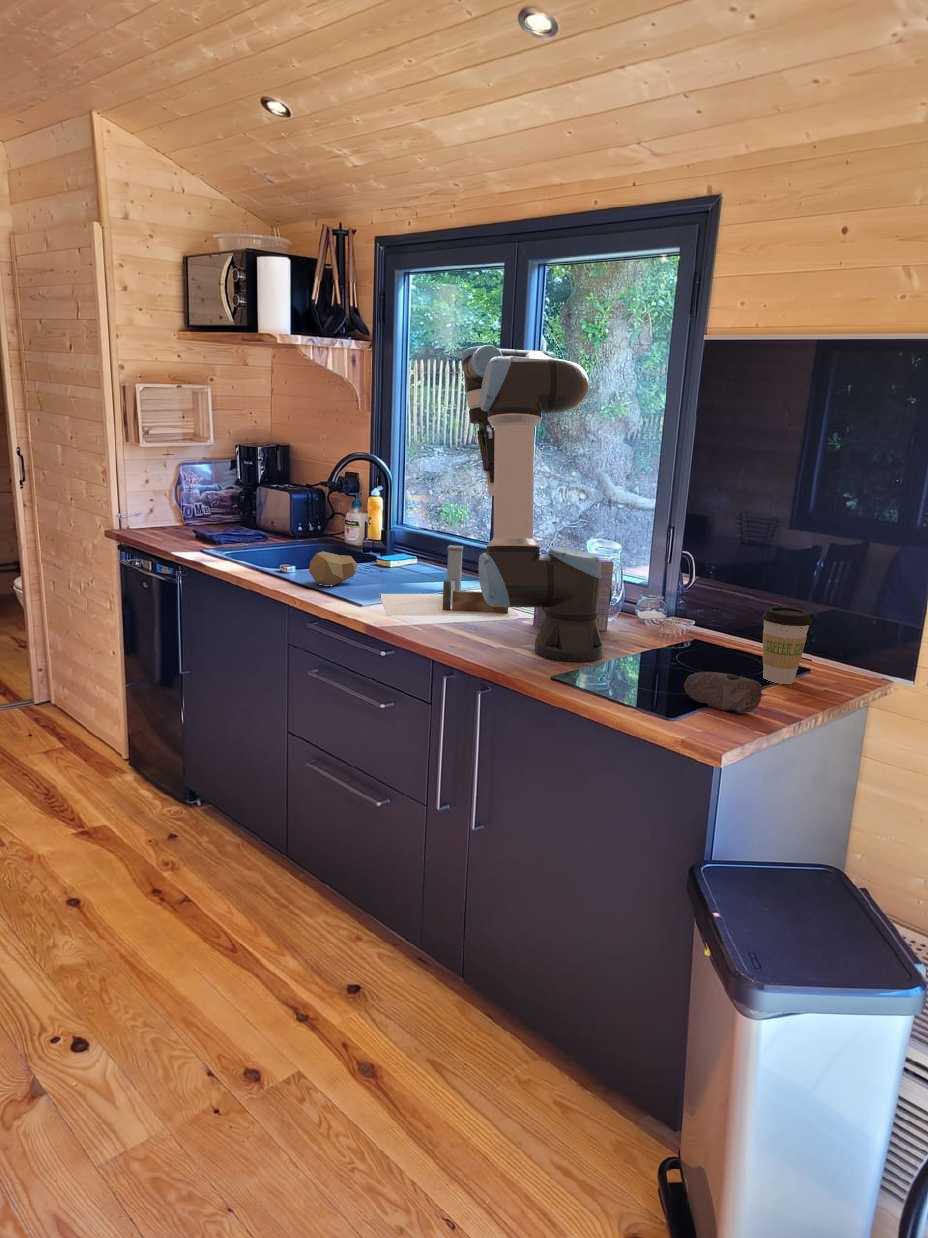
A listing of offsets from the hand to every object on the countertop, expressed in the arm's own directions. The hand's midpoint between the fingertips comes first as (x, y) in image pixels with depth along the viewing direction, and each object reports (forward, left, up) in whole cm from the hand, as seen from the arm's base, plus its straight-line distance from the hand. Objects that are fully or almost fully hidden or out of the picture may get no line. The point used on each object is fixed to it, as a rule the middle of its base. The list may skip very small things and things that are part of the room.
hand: (494, 495), depth 249 cm
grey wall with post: (-5, +11, -28) cm, 31 cm away
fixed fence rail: (-16, +7, -28) cm, 33 cm away
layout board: (-8, +13, -29) cm, 33 cm away
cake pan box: (-31, -15, -29) cm, 45 cm away
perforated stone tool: (-89, -27, -29) cm, 98 cm away
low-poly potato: (+18, +42, -29) cm, 54 cm away
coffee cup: (-73, -48, -29) cm, 92 cm away
